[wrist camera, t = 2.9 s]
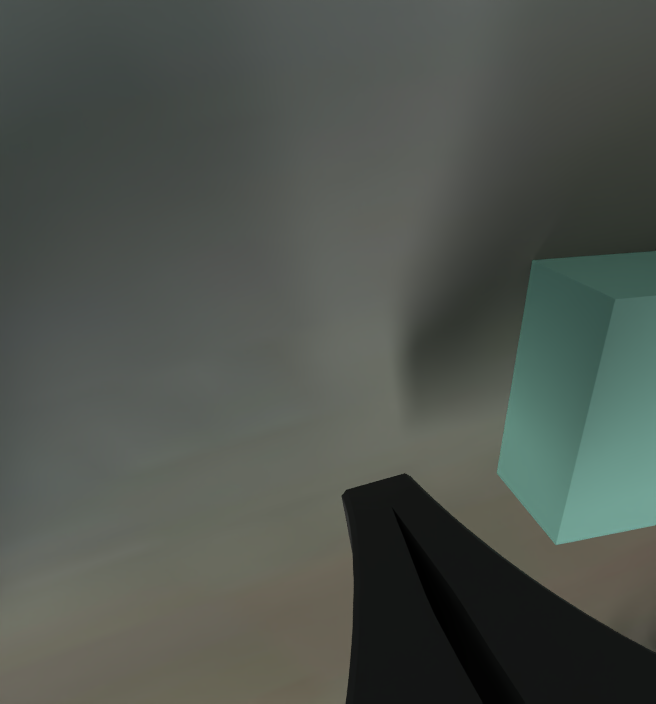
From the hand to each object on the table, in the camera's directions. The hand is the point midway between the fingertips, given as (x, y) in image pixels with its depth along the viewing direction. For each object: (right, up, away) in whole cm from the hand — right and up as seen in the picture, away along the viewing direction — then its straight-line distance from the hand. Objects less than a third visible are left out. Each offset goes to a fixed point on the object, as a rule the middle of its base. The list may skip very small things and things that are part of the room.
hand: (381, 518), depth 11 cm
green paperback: (+7, +3, +4) cm, 9 cm away
